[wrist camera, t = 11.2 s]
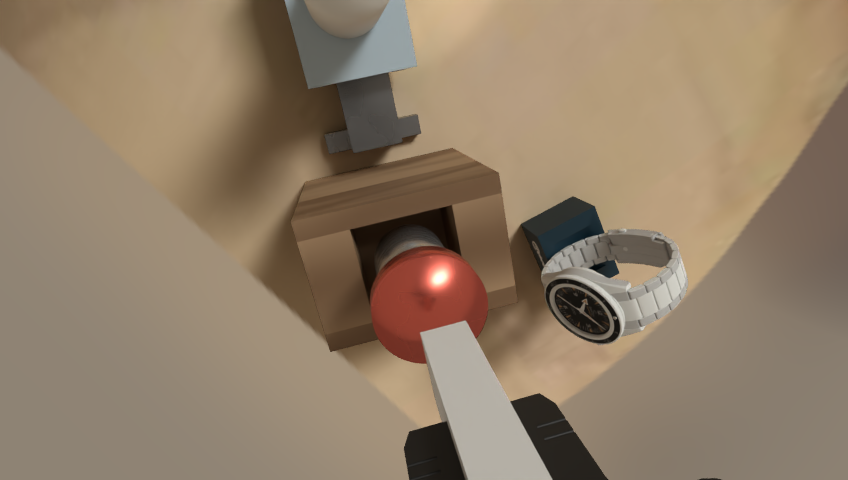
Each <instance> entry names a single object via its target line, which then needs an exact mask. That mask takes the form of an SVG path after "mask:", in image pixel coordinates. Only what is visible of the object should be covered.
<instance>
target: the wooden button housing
mask: <svg viewBox="0 0 848 480" xmlns="http://www.w3.org/2000/svg"><path fill="white" fill-rule="evenodd" d="M406 224H415V225H420V226H423V227H426V228H427V229H429V230H431V231H432V232H433V233H434V234H435V235H436V236H437V237H438V238H439V240H440V241H441V243H442V244H443V246H444V248H446V249H449V250H451V251H453V252H455V253H457V254H459V255H460V256H462V257H463V258H464V259H465V260H466V261H467V262H468V263H469V264H470V265H471V267H472V268H473V269H474V271H475V272H476V273H477V275H478V276H479V278H480V279H481V281H482V283H483V284H484V287H485V289H486V293H487V297H488V310H491V309H494V308H498V307H502V306H506V305H510V304H513V303H517V302H518V299H517V292H516V286H515V279H514V272H513V265H512V259H511V252H510V245H509V238H508V232H507V225H506V218H505V212H504V205H503V198H502V191H501V185H500V178H499V173H498V172H496V171H494V170H492V169H490V168H489V167H487V166H485V165H483V164H481V163H479V162H477V161H475V160H474V159H472V158H470V157H468V156H466V155H464V154H462V153H461V152H459V151H457V150H455V149H453V148H451V149H446V150H442V151H438V152H433V153H429V154H425V155H420V156H416V157H412V158H407V159H403V160H398V161H394V162H390V163H385V164H381V165H377V166H372V167H368V168H364V169H359V170H355V171H350V172H346V173H342V174H337V175H333V176H329V177H324V178H320V179H316V180H311V181H307V182H305V185H304V187H303V190H302V193H301V195H300V198H299V201H298V203H297V206H296V209H295V212H294V214H293V217H292V220H291V225H292V228H293V232H294V235H295V238H296V241H297V245H298V248H299V251H300V254H301V258H302V261H303V264H304V268H305V271H306V274H307V277H308V281H309V284H310V287H311V290H312V294H313V297H314V300H315V303H316V307H317V310H318V313H319V316H320V320H321V323H322V326H323V329H324V333H325V336H326V339H327V342H328V346H329V349H330V352H332V351H335V350H339V349H343V348H347V347H351V346H354V345H358V344H362V343H366V342H369V341H373V340H377V339H378V337H377V335H376V333H375V330H374V327H373V323H372V316H371V309H370V293H371V289H372V285H373V283H374V280H375V278H376V276H377V275H376V269H375V264H374V254H375V250H376V247H377V245H378V243H379V241H380V240H381V238H382V237H383V236H384V235H385V234H386V233H387V232H389V231H390V230H392V229H393V228H396V227H398V226H401V225H406Z"/></svg>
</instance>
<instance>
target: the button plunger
mask: <svg viewBox="0 0 848 480" xmlns="http://www.w3.org/2000/svg"><path fill="white" fill-rule="evenodd" d="M374 264H375V269H376V275H377V276H376V278H375V280H374V283H373V285H372V289H371V293H370V309H371V316H372V323H373V327H374V330H375V333H376V335H377V337H378V339H379V340H380V342H381V343H382V345H383V346H384V347H385V348H386V349H387V350H388V351H390V352H391V353H392V354H394V355H395V356H397V357H399V358H401V359H403V360H406V361H410V362H414V363H424V364H427V361H426V357H425V352H424V348H423V344H422V339H421V335H420V332H424V331H428V330H432V329H435V328H439V327H443V326H447V325H450V324H454V323H458V322H462V321H465V320H466V322H467V324H468V325H469V327H470V329H471V331H472V333H473V335H474V336H475V338H477V337H478V335H479V334H480V332H481V331H482V329H483V326H484V324H485V321H486V318H487V313H488V297H487V293H486V289H485V287H484V284H483V283H482V281H481V279H480V278H479V276H478V275H477V273H476V272H475V271H474V269H473V268H472V267H471V265H470V264H469V263H468V262H467V261H466V260H465V259H464V258H463V257H462V256H460V255H459V254H457V253H455V252H453V251H451V250H449V249H446V248H444V246H443V244H442V243H441V241H440V240H439V238H438V237H437V236H436V235H435V234H434V233H433V232H432V231H431V230H429V229H427V228H426V227H423V226H420V225H415V224H406V225H401V226H398V227H396V228H393V229H392V230H390V231H389V232H387V233H386V234H385V235H384V236H383V237H382V238H381V240H380V241H379V243H378V245H377V247H376V250H375V254H374Z"/></svg>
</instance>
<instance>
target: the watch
mask: <svg viewBox="0 0 848 480" xmlns="http://www.w3.org/2000/svg"><path fill="white" fill-rule="evenodd" d="M521 226H522V228H523V230H524V233H525V235H526V237H527V239H528V242H529V244H530V246H531V249H532V251H533V253H534V255H535V258H536V260H537V262H538V265H539V267H540V269H541V271H542V276H541V281H542V284H543V286H544V288H545V291H544V292H545V293H544V295H545V300H546V303H547V306H548V308H549V309H550V311H551V313H552V314H553V316H554V317H555V318H556V319H557V320H558V322H559V323H560V324H561V325H563V326H564V327H565V328H566V329H567V330H568V331H570V332H571V333H573V334H574V335H576V336H577V337H579V338H581V339H583V340H586V341H588V342H592V343H596V344H597V345H604V344H611V343H613V342H616V341H617V340H618V339H619V338H620V337H622V336H626V335H630V334H633V333H636V332H640V331H642V330H643V329H644V328H645V326H646V325H648V324H650V323H652V322H654V321H656V319H660V318H662V317H663V316H665V315H666V314H668V313H669V312H670V310H673V309H674V308H675V307H676V306H677V305H678V304H679V303H680V301H681V300H682V299H683V297H684V296H685V293H686V291H687V290H686V289H687V287H688V279H687V274H686V271H685V268H684V265H683V262H682V258H681V255H680V252H679V249H678V246H677V244H676V243H674V241H673V240H672V239H670V238H667V237H666V236H664V235H663V234H662V233H661V232H655V231H648V230H638V229H617V230H608V233H604V230H603V228H602V225H601V222H600V220H599V217H598V214H597V212H596V209H595V206H593V205H591V204H589V203H586V202H584V201H582V200H580V199H578V198H576V197H571V198H569V199H567V200H565V201H563V202H562V203H560V204H558V205H556V206H554V207H552V208H550V209H548V210H546V211H545V212H543V213H541V214H539V215H537V216H535V217H533V218H531V219H530V220H528V221H526V222H524V223H522V224H521ZM615 260H617V262H618V263H635V264H645V265H651V266H655V267H663V266H666V267H667V268H664V269H663V270H662V271H661V272H660V273H658V274H657V277H653V278H651V279H650V280H648V281H646V282H644V283H643V284H644V285H638V286H635V287H633V288H630V287H631V285H630V282H628V281H625V280H618V279H611V277H613V276H615V275H617V274H619V271H618V268H617V265H616V263H615ZM629 288H630V289H629Z"/></svg>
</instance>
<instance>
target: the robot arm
mask: <svg viewBox="0 0 848 480" xmlns="http://www.w3.org/2000/svg"><path fill="white" fill-rule="evenodd" d="M420 335H421V339H422V344H423V348H424V352H425V357H426V361H427V365H428V370H429V374H430V378H431V383H432V387H433V391H434V396H435V400H436V404H437V407H438V411H439V414H440V417H441V420H442V423H438V424H435V425H431V426H428V427H424V428H421V429H417V430H413V431H410V432H409V434H408V437H407V440H406V443H405V446H404V451H405V457H406V463H407V469H408V474H409V480H608V479H607V478H606V477H605V475H604V474H603V472H602V471H601V469H600V468H599V466H598V465H597V463H596V462H595V461H594V459H593V458H592V456H591V455H590V453H589V452H588V450H587V449H586V448H585V446H584V445H583V443H582V442H581V440H580V439H579V437H578V436H577V434H576V433H575V432H574V431H573V428H572V427H571V426H570V424H569V423H568V421H567V420H566V419H565V417H564V415H563V414H562V412H561V411H560V410H559V408H558V407H557V405H556V404H555V403H554V402H552V401H551V400H549V399H548V398H546V397H544V396H543V395H541V394H540V393H539V394H535V395H532V396H528V397H524V398H521V399H517V400H514V401H509V399H508V397H507V395H506V393H505V392H504V390H503V388H502V386H501V384H500V382H499V381H498V379H497V377H496V375H495V373H494V371H493V369H492V368H491V366H490V364H489V362H488V360H487V358H486V357H485V355H484V353H483V351H482V349H481V347H480V346H479V344H478V342H477V340H476V338H475V336H474V335H473V333H472V331H471V329H470V327H469V325H468V324H467V322H466V320H465V321H462V322H458V323H454V324H450V325H447V326H443V327H439V328H435V329H432V330H428V331H424V332H420ZM699 480H721V479H715V478H711V479H699Z"/></svg>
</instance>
